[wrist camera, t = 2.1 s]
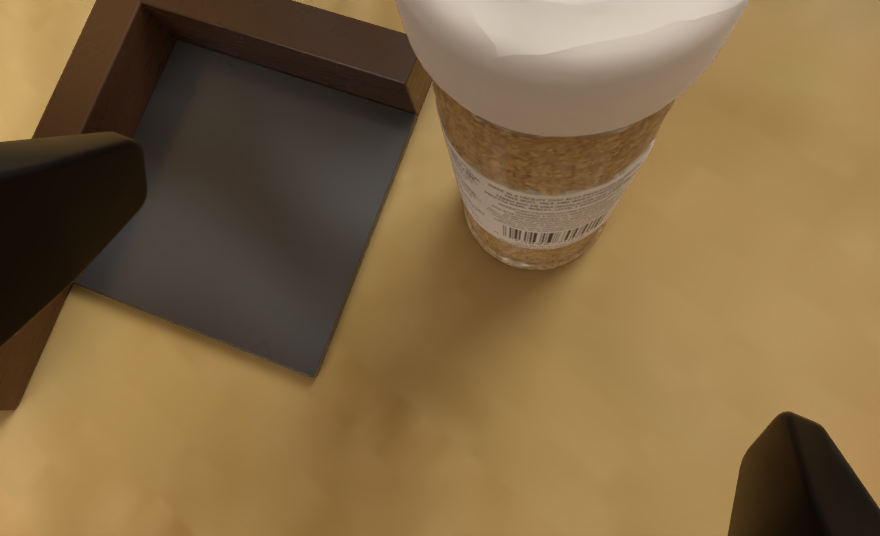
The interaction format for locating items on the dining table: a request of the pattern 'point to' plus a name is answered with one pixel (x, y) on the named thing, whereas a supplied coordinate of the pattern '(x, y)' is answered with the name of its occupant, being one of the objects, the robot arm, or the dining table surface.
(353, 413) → the dining table surface
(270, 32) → the corner guide
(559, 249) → the sprinkles bottle
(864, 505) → the robot arm
